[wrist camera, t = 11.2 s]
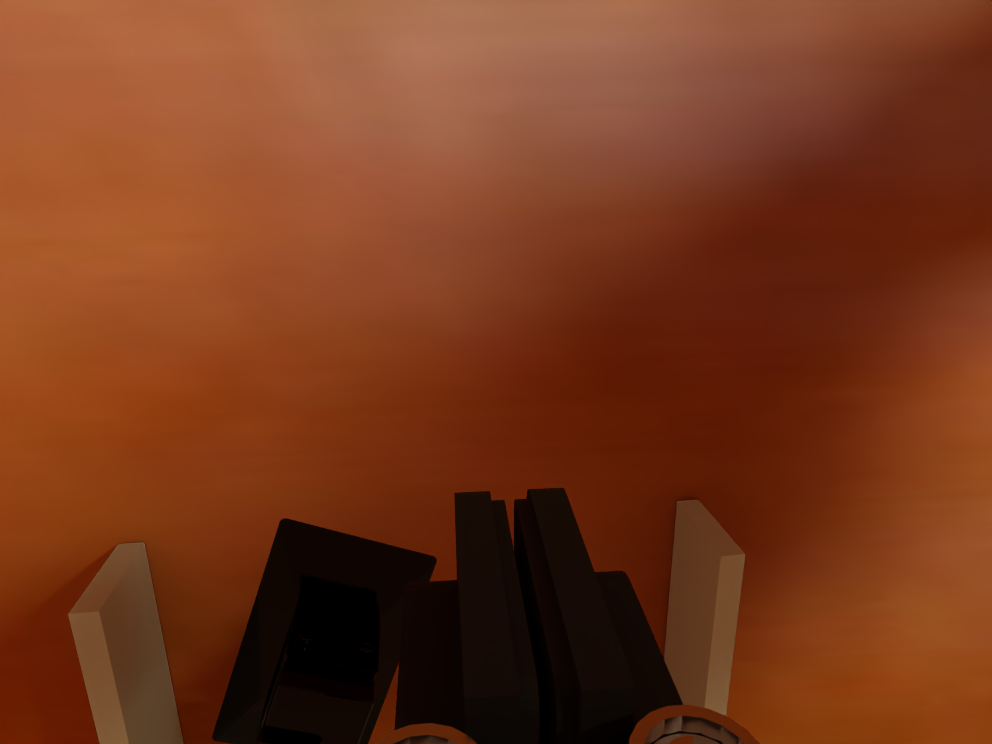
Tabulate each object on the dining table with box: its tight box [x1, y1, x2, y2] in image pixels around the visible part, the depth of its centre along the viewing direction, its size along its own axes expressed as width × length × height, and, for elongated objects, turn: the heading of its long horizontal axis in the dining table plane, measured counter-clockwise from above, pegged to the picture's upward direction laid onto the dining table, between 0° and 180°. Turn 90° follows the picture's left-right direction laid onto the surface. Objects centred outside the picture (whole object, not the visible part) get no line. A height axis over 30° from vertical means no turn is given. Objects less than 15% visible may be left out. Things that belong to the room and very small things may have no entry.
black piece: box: [212, 519, 437, 744], centre depth 22 cm, size 12×7×5 cm, turn 160°
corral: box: [68, 499, 745, 744], centre depth 23 cm, size 14×20×4 cm
